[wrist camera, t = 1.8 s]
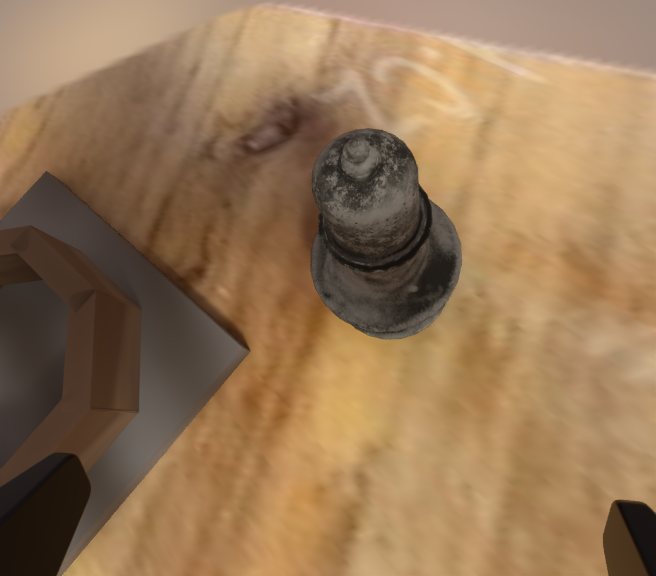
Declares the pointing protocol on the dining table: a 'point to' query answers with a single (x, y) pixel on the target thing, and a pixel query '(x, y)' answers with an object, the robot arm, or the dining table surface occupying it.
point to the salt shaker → (380, 237)
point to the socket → (95, 351)
